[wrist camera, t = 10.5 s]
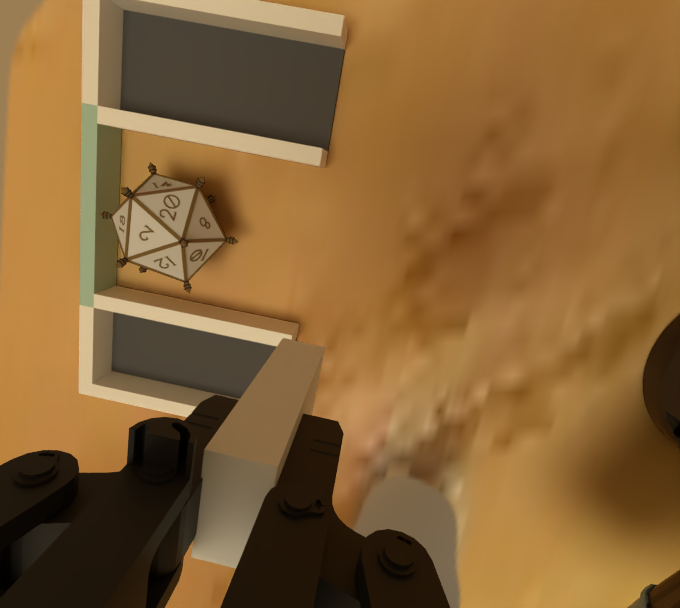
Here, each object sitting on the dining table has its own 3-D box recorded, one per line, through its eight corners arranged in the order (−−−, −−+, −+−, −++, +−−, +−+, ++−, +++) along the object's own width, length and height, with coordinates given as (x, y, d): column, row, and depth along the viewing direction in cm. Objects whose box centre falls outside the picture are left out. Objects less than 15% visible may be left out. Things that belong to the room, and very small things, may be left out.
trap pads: (344, 50, 30) (344, 49, 30) (285, 407, 39) (284, 408, 38) (125, 11, 31) (123, 9, 31) (113, 369, 39) (111, 370, 39)
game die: (195, 203, 38) (113, 121, 29) (271, 226, 35) (206, 142, 26) (143, 289, 36) (39, 230, 27) (220, 322, 33) (129, 267, 24)
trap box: (347, 31, 30) (344, 15, 27) (283, 418, 39) (275, 436, 36) (110, -11, 31) (82, -31, 28) (100, 378, 40) (78, 393, 37)
